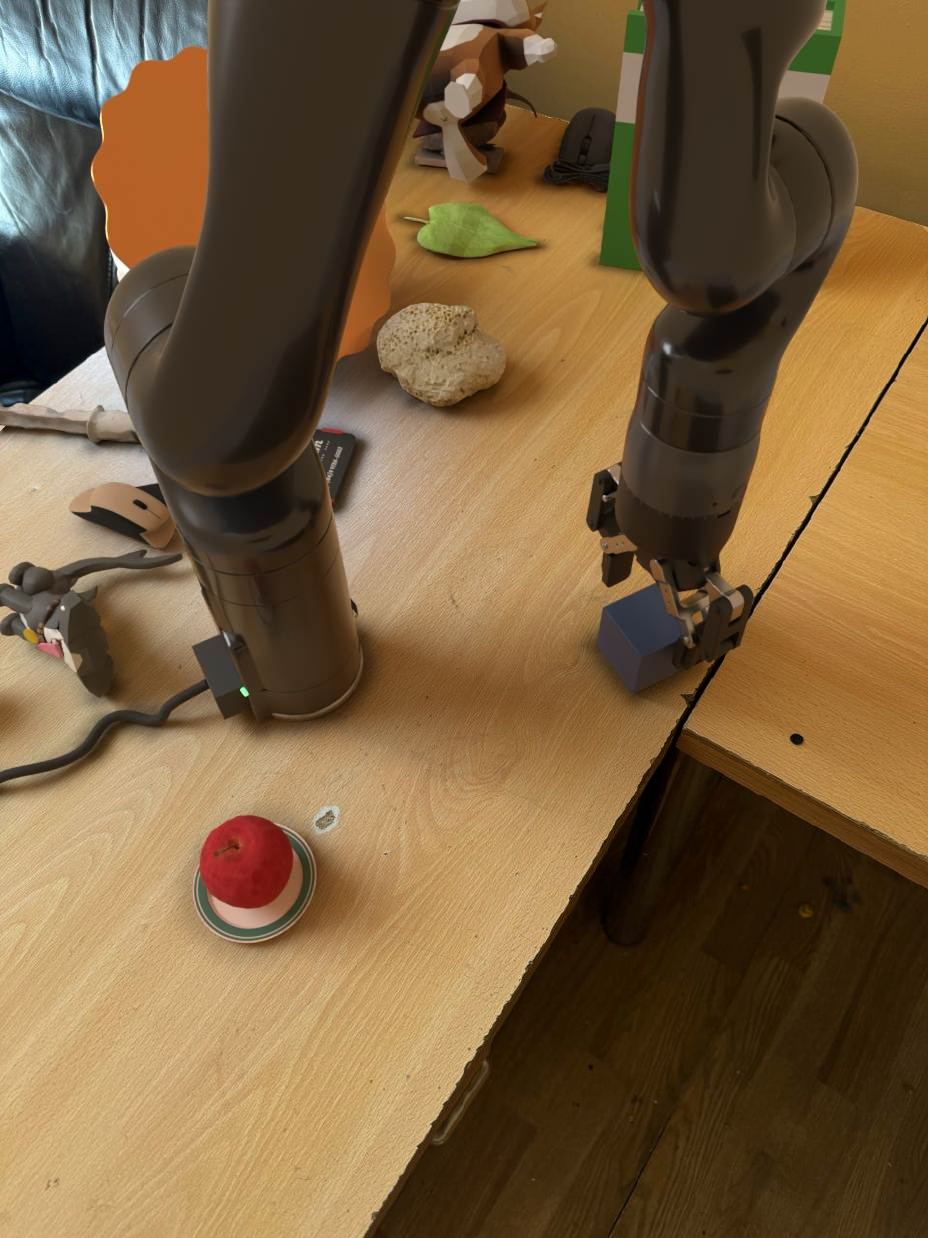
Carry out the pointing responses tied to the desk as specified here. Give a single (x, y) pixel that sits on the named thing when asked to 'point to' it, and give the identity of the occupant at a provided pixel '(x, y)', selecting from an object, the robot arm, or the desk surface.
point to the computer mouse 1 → (127, 511)
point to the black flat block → (335, 457)
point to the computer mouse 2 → (585, 150)
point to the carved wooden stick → (72, 421)
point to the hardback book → (617, 246)
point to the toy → (478, 74)
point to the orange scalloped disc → (190, 180)
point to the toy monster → (68, 612)
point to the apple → (253, 879)
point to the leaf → (467, 231)
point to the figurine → (476, 136)
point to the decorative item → (439, 353)
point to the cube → (639, 638)
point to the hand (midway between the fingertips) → (649, 620)
